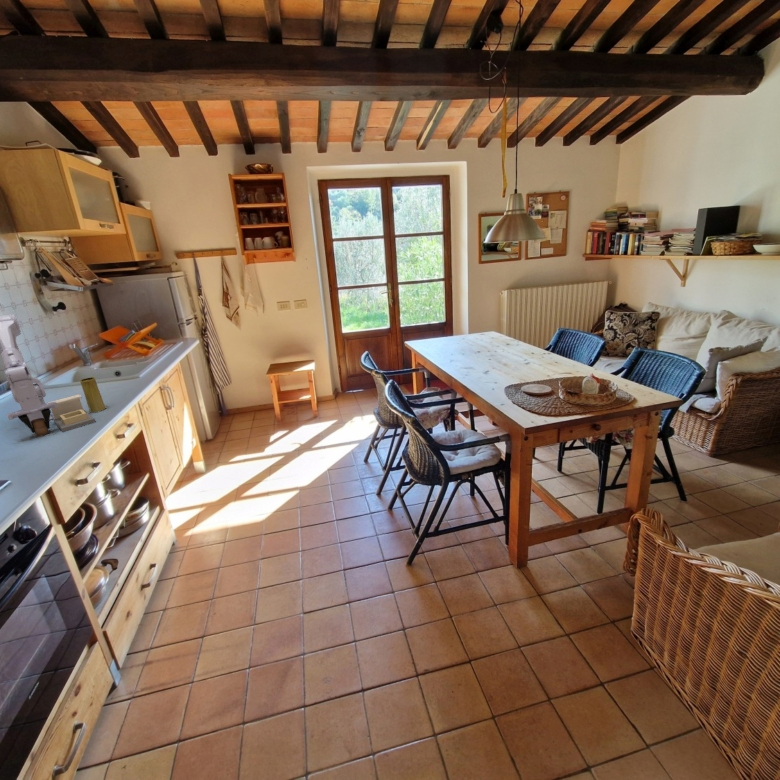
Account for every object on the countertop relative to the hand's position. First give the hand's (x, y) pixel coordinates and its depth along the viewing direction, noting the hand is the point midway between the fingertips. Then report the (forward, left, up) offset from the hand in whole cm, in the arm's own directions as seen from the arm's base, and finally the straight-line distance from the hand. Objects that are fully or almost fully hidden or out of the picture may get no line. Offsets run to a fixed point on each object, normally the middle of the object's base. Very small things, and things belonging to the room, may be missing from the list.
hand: (41, 430), depth 157 cm
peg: (0, 0, -2) cm, 2 cm away
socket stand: (-3, +11, -2) cm, 12 cm away
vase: (-11, +21, -2) cm, 24 cm away
